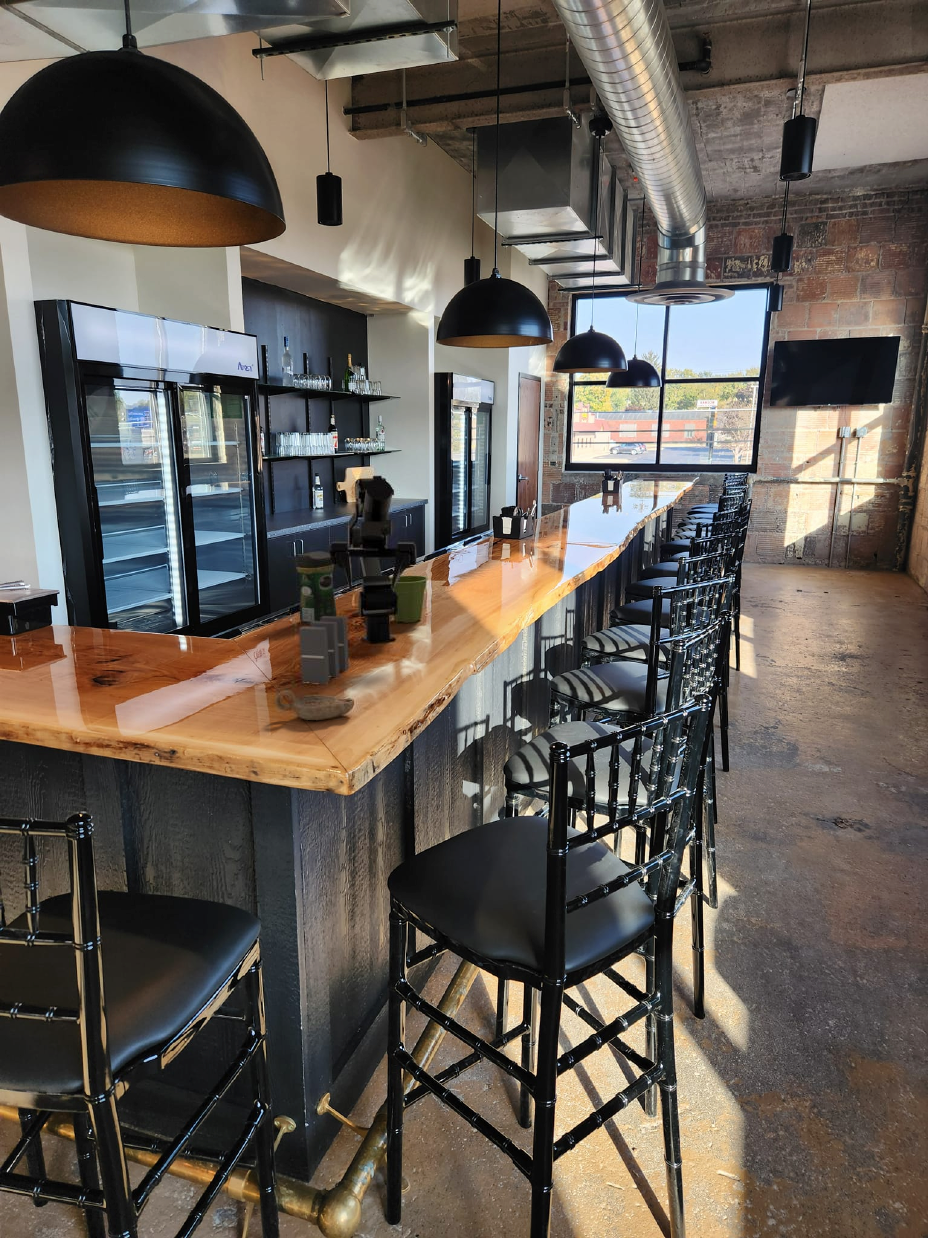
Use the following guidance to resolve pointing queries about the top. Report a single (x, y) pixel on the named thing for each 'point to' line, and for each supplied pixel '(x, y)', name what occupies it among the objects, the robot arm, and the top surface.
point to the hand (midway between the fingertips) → (371, 587)
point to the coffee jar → (316, 586)
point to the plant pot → (409, 598)
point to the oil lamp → (316, 706)
